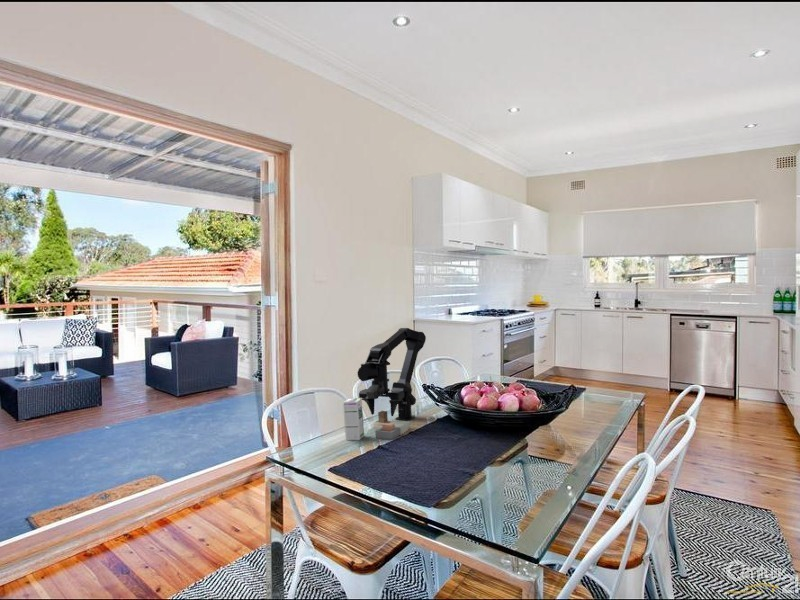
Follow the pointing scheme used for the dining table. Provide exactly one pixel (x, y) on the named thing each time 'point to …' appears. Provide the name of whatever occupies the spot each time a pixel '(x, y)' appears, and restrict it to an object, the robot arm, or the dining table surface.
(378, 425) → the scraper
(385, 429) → the tile
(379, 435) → the tray
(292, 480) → the dining table surface
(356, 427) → the syrup box
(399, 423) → the deck
